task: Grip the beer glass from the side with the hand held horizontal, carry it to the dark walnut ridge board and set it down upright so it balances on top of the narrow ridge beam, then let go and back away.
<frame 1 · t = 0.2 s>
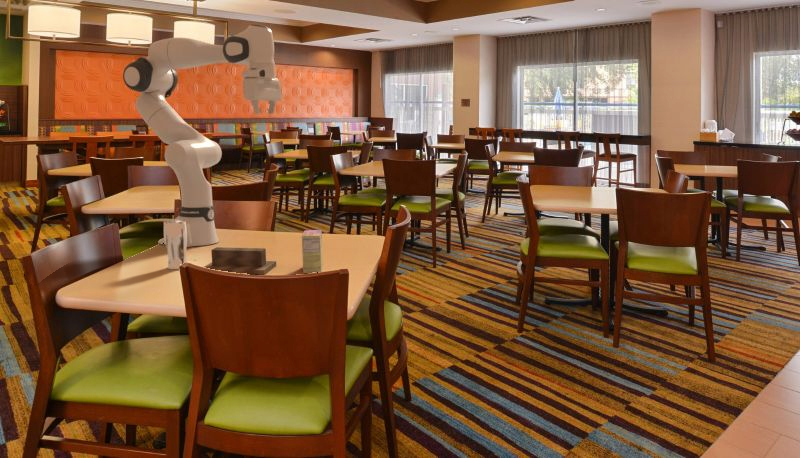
hand: (264, 113, 216), 48 cm above the table, tool pointing down, fingers open, 8 cm apart
box: (313, 270, 193), on the table
ridge: (239, 269, 193), on the table
beer glass: (177, 268, 195), on the table
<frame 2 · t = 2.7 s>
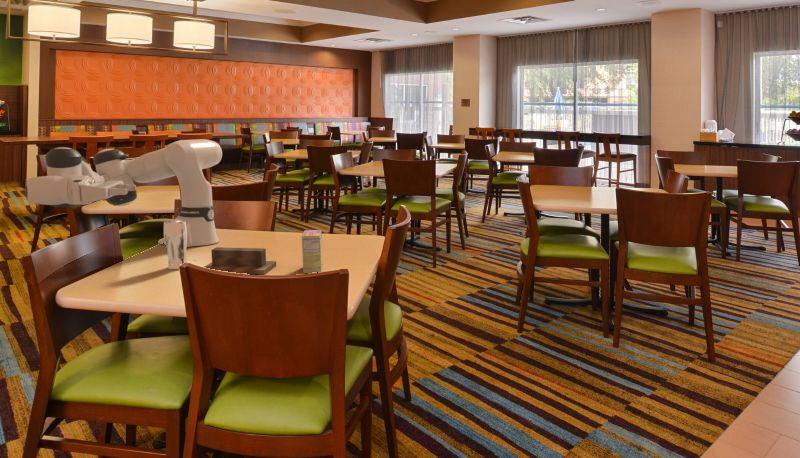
hand: (131, 189, 189), 25 cm above the table, tool horizontal, fingers open, 8 cm apart
nothing on the table moved.
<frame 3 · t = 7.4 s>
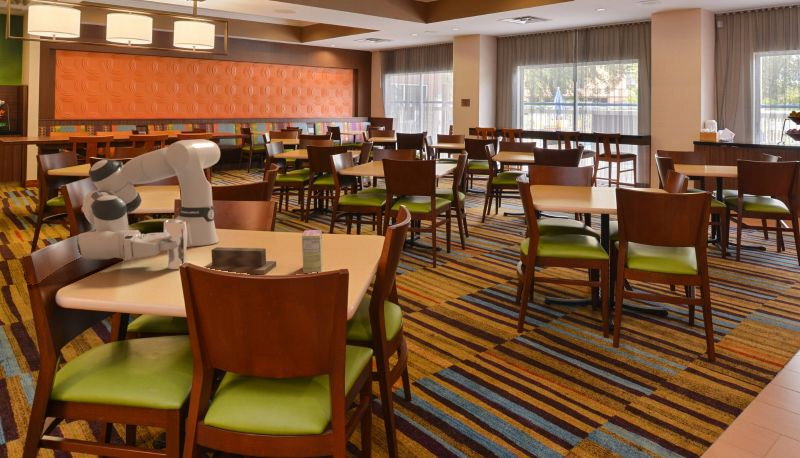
hand: (179, 242, 194), 8 cm above the table, tool horizontal, fingers closed on beer glass, 7 cm apart
beer glass: (177, 268, 195), on the table, touching gripper
everything else where it was.
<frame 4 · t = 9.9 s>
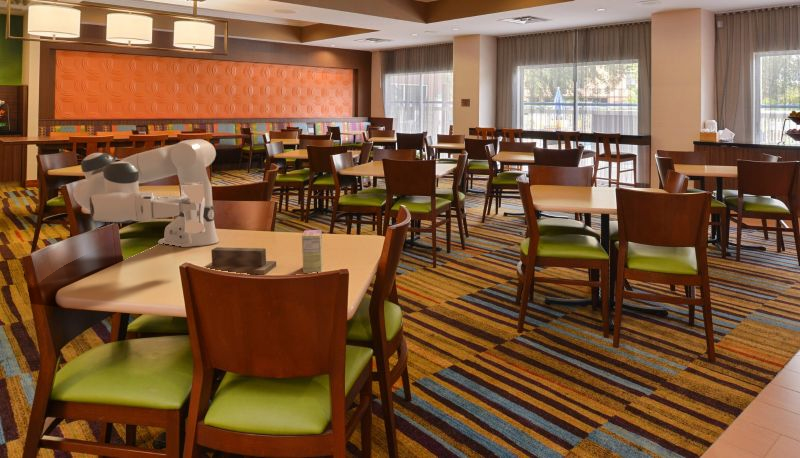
hand: (196, 204, 189), 20 cm above the table, tool horizontal, fingers closed on beer glass, 7 cm apart
beer glass: (195, 232, 191), point 12 cm above the table, touching gripper
everything else where it was.
when the fingers open (15 cm above the table, at t = 12.7 s): beer glass stays where it is, resting on ridge.
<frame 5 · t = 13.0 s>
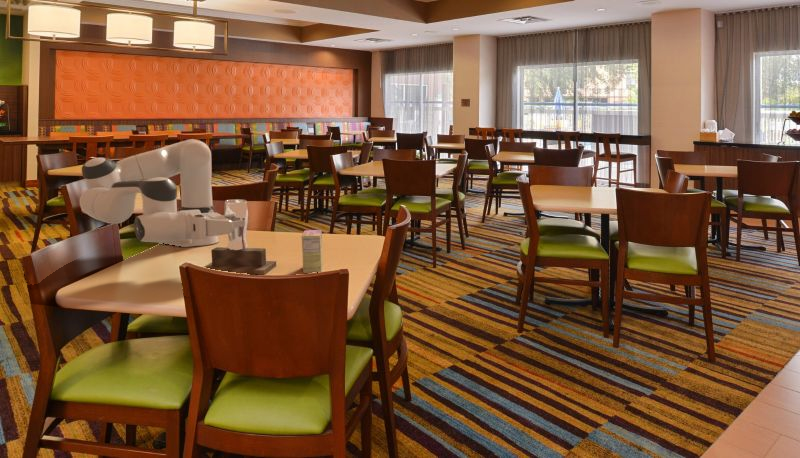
hand: (240, 220, 191), 15 cm above the table, tool horizontal, fingers open, 8 cm apart
beer glass: (237, 248, 193), point 6 cm above the table, touching gripper, ridge
everything else where it was.
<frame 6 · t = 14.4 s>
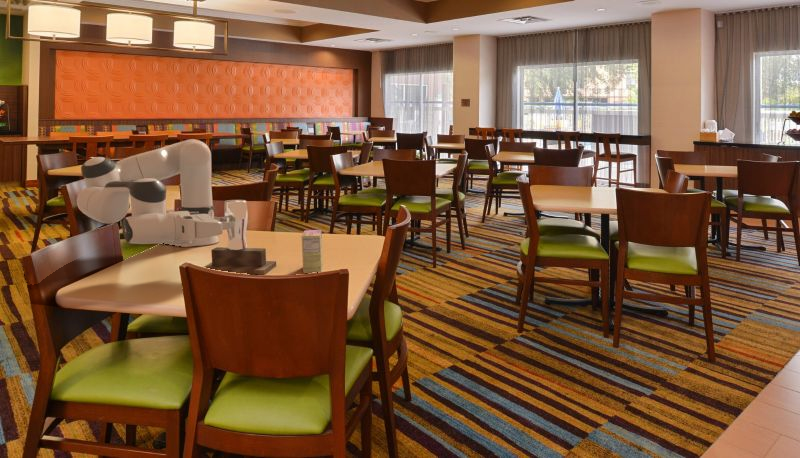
hand: (230, 222, 189), 15 cm above the table, tool horizontal, fingers open, 8 cm apart
beer glass: (237, 249, 193), point 6 cm above the table, touching ridge
everything else where it was.
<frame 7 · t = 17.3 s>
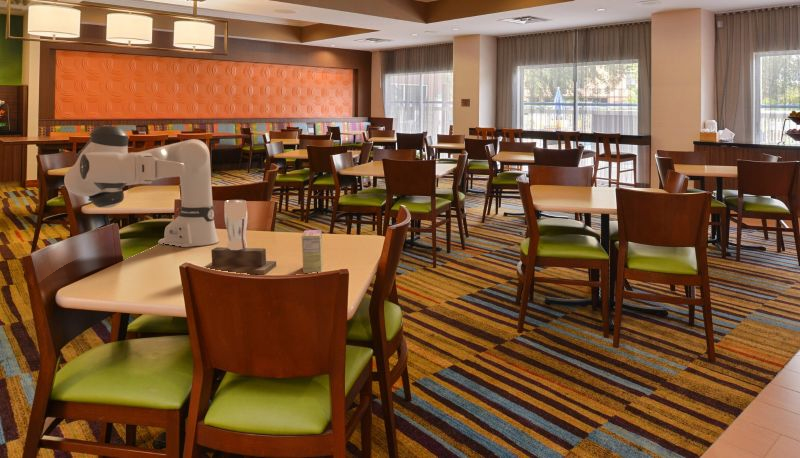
hand: (194, 169, 182), 32 cm above the table, tool horizontal, fingers open, 8 cm apart
nothing on the table moved.
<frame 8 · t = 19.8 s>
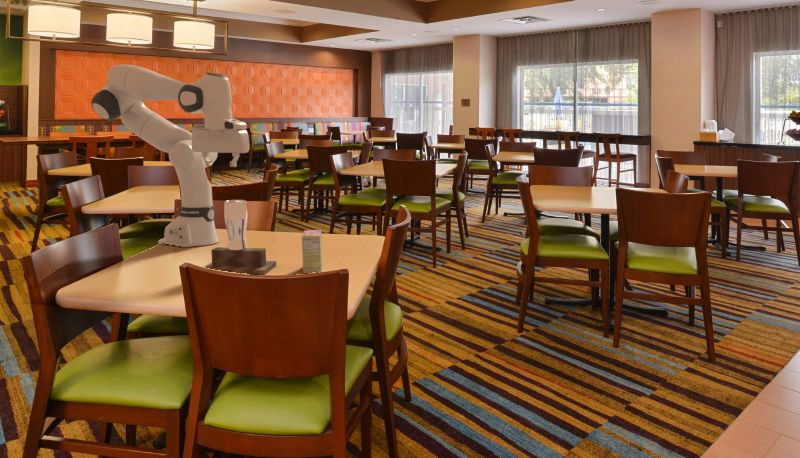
hand: (221, 166, 203), 31 cm above the table, tool pointing down, fingers open, 8 cm apart
nothing on the table moved.
at the end: beer glass 1.1 cm off-centre on the ridge, point 6.3 cm above the ridge's base; beer glass tilted 0°; the gripper is holding nothing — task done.
